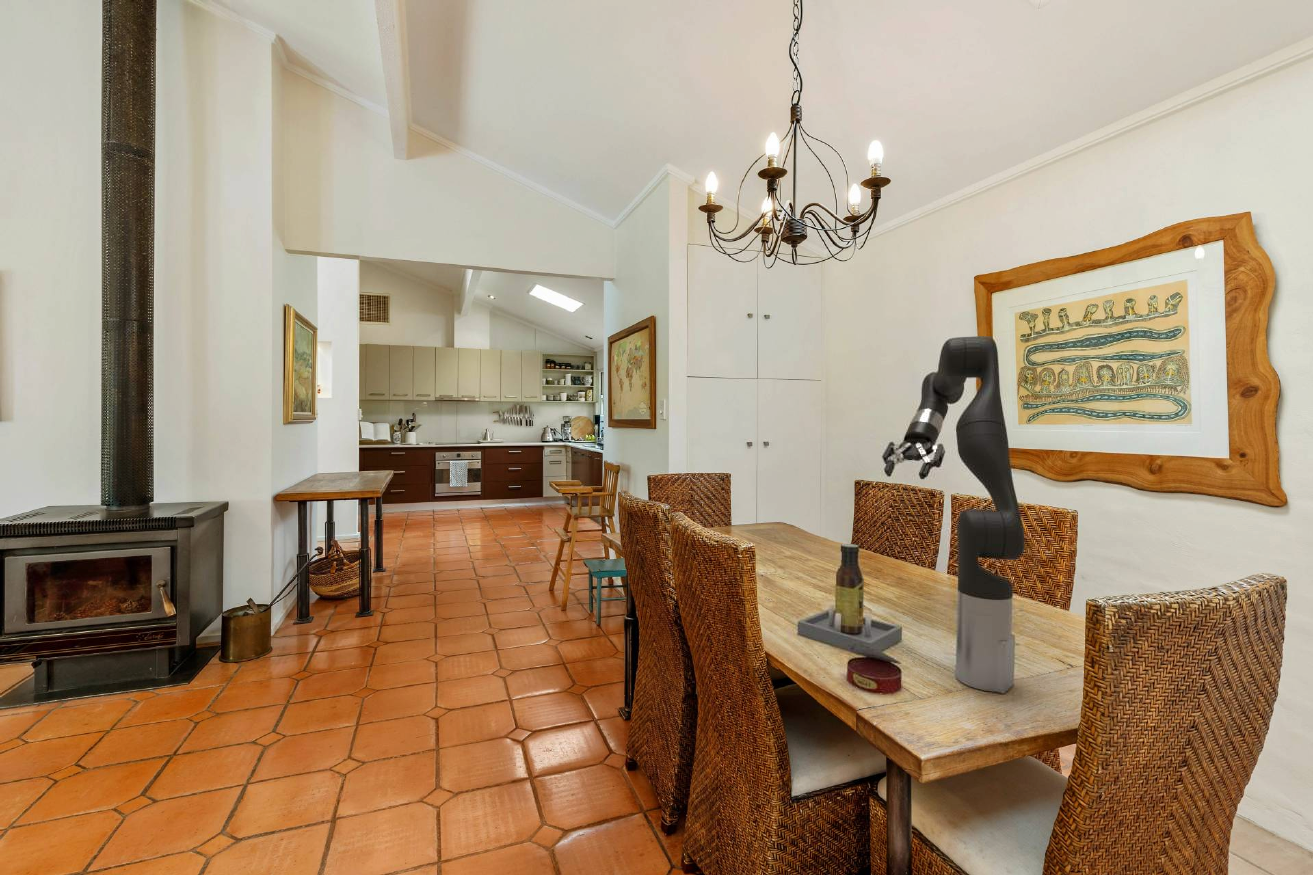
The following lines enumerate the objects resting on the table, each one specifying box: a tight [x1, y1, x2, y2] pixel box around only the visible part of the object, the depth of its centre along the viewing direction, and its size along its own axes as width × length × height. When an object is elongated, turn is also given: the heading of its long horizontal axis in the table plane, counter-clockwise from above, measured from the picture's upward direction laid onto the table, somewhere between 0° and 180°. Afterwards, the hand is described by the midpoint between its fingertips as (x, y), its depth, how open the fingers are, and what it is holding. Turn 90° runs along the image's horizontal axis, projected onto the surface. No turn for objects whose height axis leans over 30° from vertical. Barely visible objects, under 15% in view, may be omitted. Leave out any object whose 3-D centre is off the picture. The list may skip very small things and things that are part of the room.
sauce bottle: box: [834, 543, 865, 634], centre depth 134 cm, size 6×6×20 cm
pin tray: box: [797, 603, 903, 652], centre depth 134 cm, size 18×15×6 cm
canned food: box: [846, 642, 903, 695], centre depth 111 cm, size 11×10×10 cm
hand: (904, 475), depth 145 cm, fingers open, 8 cm apart
